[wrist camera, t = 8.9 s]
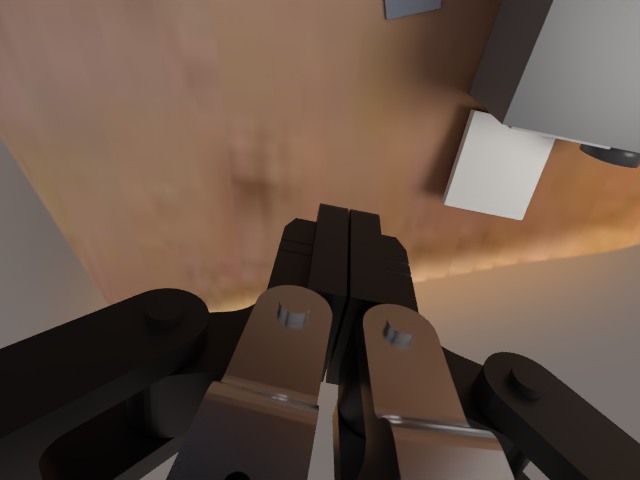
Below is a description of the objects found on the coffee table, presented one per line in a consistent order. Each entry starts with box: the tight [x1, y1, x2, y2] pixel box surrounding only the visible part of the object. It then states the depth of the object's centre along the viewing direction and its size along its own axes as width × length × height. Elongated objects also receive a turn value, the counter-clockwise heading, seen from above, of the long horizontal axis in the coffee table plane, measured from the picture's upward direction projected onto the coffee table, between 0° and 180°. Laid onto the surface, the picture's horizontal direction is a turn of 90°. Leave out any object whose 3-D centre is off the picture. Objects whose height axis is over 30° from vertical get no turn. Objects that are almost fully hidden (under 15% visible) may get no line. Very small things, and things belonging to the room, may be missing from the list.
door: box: [442, 109, 556, 220], centre depth 36 cm, size 1×7×8 cm
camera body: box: [469, 0, 640, 168], centre depth 28 cm, size 12×12×10 cm
